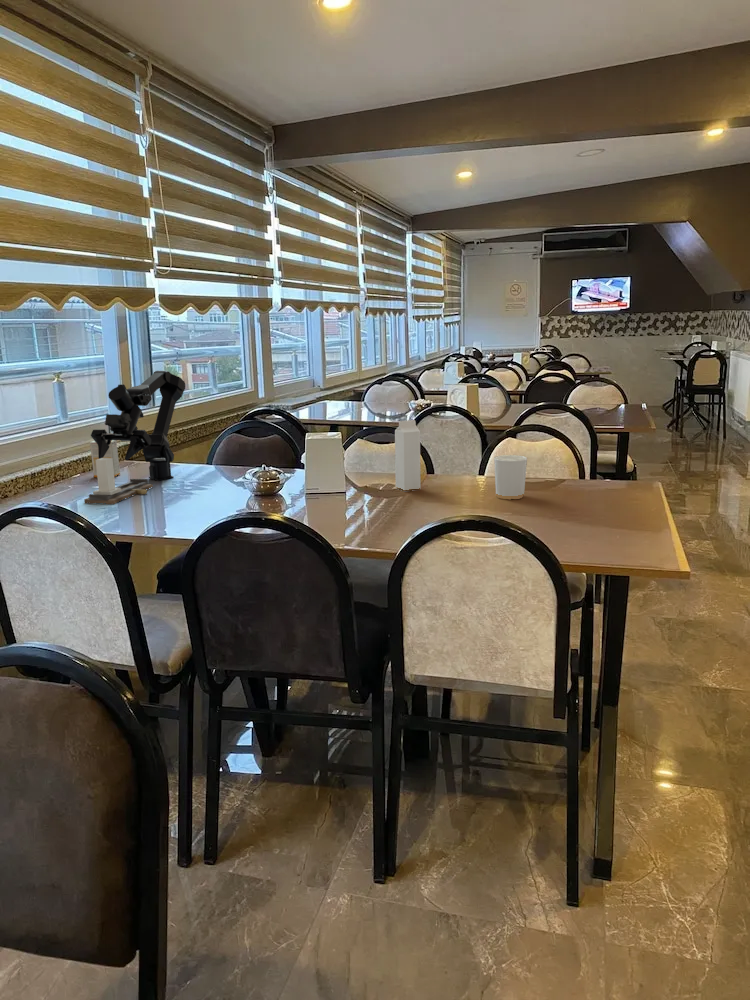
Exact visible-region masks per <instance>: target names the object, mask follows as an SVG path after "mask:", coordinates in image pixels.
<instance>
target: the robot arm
mask: <svg viewBox="0 0 750 1000" xmlns="http://www.w3.org/2000/svg"><path fill="white" fill-rule="evenodd" d="M157 390H159V393H160V395H161V401H160V404H159V405H160V406H159V409H158V412H157V416H156V421H155V424H154V428H153V432H152V433H151V434H150V433H149V434H148V433H147V430H145V429H138V427H137V424H138V421H139V419H140V418H144V417H145V416H144V413H143V410H142V409H141V407H142V406H143V407H147V406H148V405H149V403H150V402H151V401H152V395H153V394H154V393H156V391H157ZM185 390H186V383H185V380H183V379H182V378H181V377H180V376H178V375H176V374H174V373H173V374H172V373H171V372H170V371H168V370H155V371H153V374H151V375H150V376H149V377H147V379H146V380H144V381H143V382H142V383H141V384H139V385H135V386H131V387H129V388H127V387H126V385H125V384H118V385H117V386H116V387H114V388H112V389H111V390H110V391H109V392H108V398H109V400H110V401H111V403H112V404H113V406H114V408H116V410H117V411H120V414H116V413H115V414H113V413H111V414H106V415H105V419H104V420H105V421H104V425H105V426H108V427H109V431H111V432H112V433H108V432H107V431H106V429H101V428H100V429H98V428H97V429H92V431H91V433H90V437H91V438H92V439H93V441H95V442H96V443H97V444H98V455H99V459H100V458H103V457H104V455H105V454H106V452H107V450H108V449H109V444H110V443H111V440H116V441H121V442H129V444H128V448H127V450H126V453H125V457H124V459H125V461H129V460H130V459H131V458H132V457H133V456H135V455H136V454H137V453H139V452H140V451H142V454H143V457H144V461H145V462H146V463H149V467H148V469H149V477H148V479H149V478H151V479H150V480H154V479H155V481H163V479H164V480H169V479H174V477H175V476H173V475H172V472H171V471H172V470H171V462H174V459H175V453H174V452H173V451H172V450H171V448H170V445H171V444H170V443H169V439H168V435H169V430H170V427H171V422H172V418H173V414H174V411H175V407H176V403H177V402H178V401H179V400H180V399H181V398H182V397H183V395H184V392H185Z"/></svg>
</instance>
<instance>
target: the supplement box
mask: <svg viewBox="0 0 750 1000" xmlns="http://www.w3.org/2000/svg"><path fill="white" fill-rule="evenodd" d="M117 441H118V440H111V443H110V444H109V449H108V450H107V452H106V454H105V455H104V457H103V458H112V459H113V469H114V478H115V476H117V475H119V474H120V475H121V470H120V469H121V468H120V462H119V461H120V460H119V452H118V451H119V450H118V444H117ZM89 447H90V455H91V463H92V471H93V477H94V478H97V470H96V460H97V459H99V455H98V444H97V443H96V442H95V441H94V440H92V441H89ZM120 475H119V476H120ZM117 477H118V476H117Z"/></svg>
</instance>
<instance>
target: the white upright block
mask: <svg viewBox="0 0 750 1000" xmlns="http://www.w3.org/2000/svg"><path fill="white" fill-rule="evenodd" d="M96 470H97V477H96V478H97V489H96V490H93V491H92V494H98V495H108V496H109V495H113V494H115V493H118V492H120V491H121V488H115V487H116V481H115V477H114V469H113V459H112V458H100V459H97V460H96Z"/></svg>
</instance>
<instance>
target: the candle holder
mask: <svg viewBox="0 0 750 1000" xmlns="http://www.w3.org/2000/svg"><path fill="white" fill-rule="evenodd" d="M493 460H494V463H493V464H494V480H495V481H494V483H495V495H496V494H498V495H502V496H518V495H522V494H524V495H525V487H526V479H527V478H526V476H527V463H528V457H526V456H523V455H515V454H513V455H512V454H508V455H506V454H505V455H504V454H503V455H498V456H495V457H494V458H493Z"/></svg>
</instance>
